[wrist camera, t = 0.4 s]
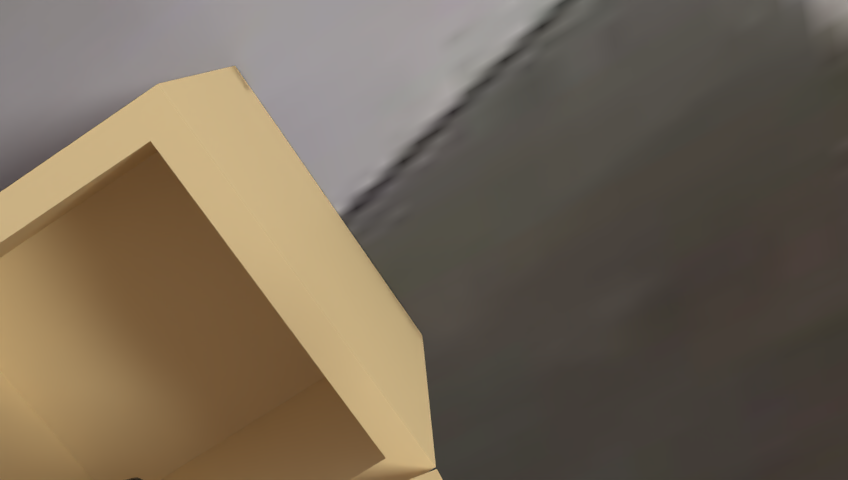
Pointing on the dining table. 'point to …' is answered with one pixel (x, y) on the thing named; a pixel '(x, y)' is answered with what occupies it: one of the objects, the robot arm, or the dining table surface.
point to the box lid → (429, 476)
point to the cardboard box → (198, 309)
